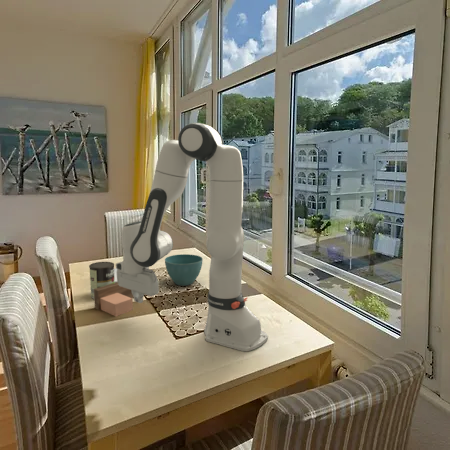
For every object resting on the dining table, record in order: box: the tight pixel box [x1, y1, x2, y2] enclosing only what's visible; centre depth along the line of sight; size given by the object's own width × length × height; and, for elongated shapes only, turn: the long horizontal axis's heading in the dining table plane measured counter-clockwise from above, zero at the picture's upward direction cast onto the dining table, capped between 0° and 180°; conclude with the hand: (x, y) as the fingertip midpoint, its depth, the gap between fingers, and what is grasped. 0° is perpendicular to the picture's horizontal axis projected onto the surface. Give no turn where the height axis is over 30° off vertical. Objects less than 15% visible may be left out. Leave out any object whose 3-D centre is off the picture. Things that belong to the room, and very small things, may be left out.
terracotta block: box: [100, 293, 134, 317], centre depth 143 cm, size 10×8×5 cm
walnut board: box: [94, 282, 134, 311], centre depth 150 cm, size 3×20×8 cm, turn 142°
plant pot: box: [164, 253, 204, 287], centre depth 175 cm, size 18×18×12 cm
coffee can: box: [88, 261, 115, 299], centre depth 157 cm, size 10×10×14 cm
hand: (138, 301), depth 133 cm, fingers closed
